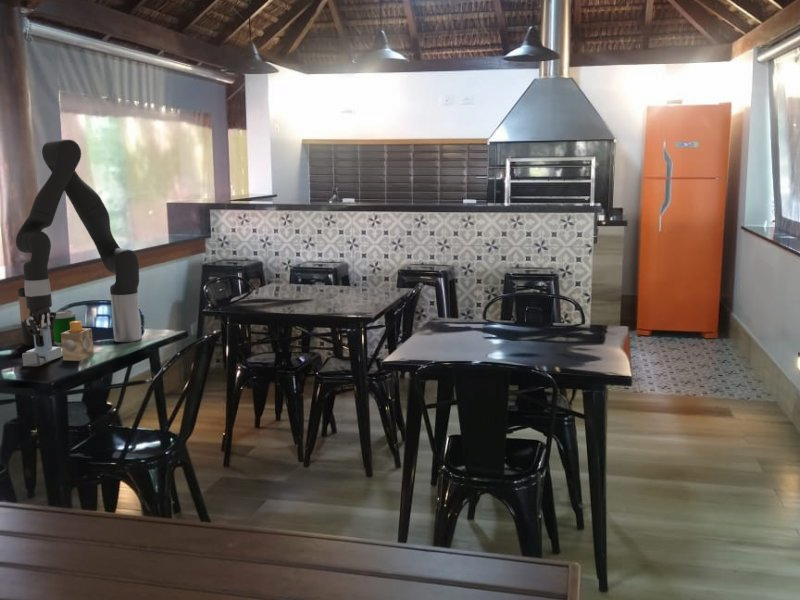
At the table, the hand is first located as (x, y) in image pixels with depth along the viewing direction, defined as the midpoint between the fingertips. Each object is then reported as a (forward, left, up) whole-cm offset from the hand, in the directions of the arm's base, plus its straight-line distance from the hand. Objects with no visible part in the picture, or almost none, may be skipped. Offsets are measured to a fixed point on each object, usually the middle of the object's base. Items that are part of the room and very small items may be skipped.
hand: (43, 345), depth 246 cm
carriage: (0, 0, -5) cm, 5 cm away
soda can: (-21, -6, -5) cm, 22 cm away
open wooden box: (-5, +9, -5) cm, 11 cm away
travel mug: (-22, -19, -5) cm, 30 cm away
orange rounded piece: (-5, +9, +2) cm, 10 cm away
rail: (-4, 0, -5) cm, 6 cm away
